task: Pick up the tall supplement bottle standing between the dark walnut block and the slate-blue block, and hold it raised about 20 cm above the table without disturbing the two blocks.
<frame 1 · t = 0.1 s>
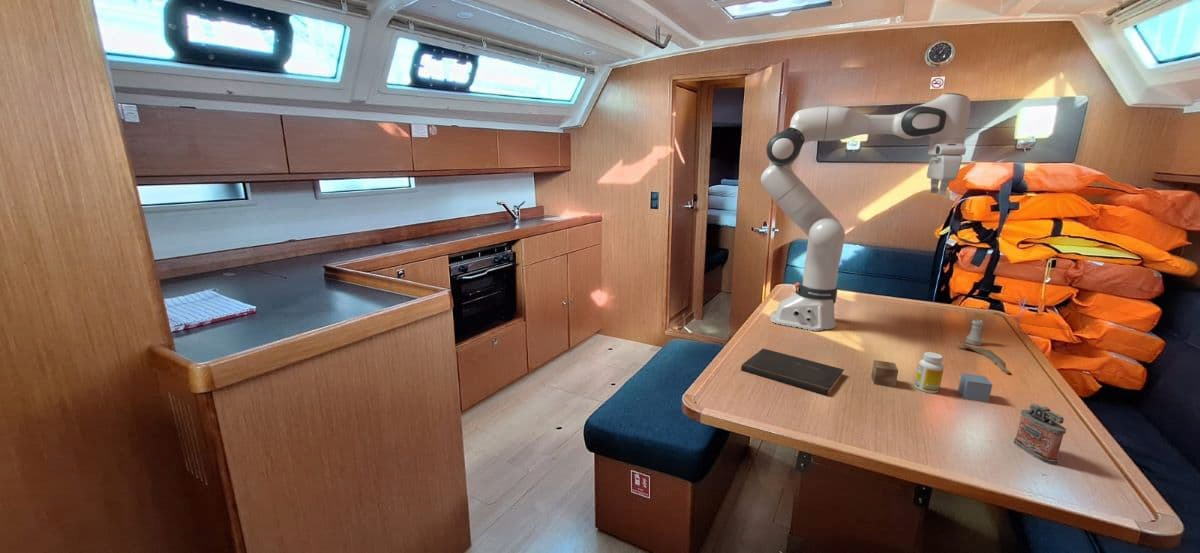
hand: (937, 194, 150), 48 cm above the table, tool pointing down, fingers open, 8 cm apart
walnut block: (882, 382, 128), on the table
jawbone: (980, 361, 143), on the table
supplement bottle: (926, 389, 124), on the table
slate-blue block: (972, 396, 120), on the table
rook chess piece: (973, 343, 155), on the table
lighter: (1034, 453, 97), on the table
hardcover book: (791, 375, 133), on the table
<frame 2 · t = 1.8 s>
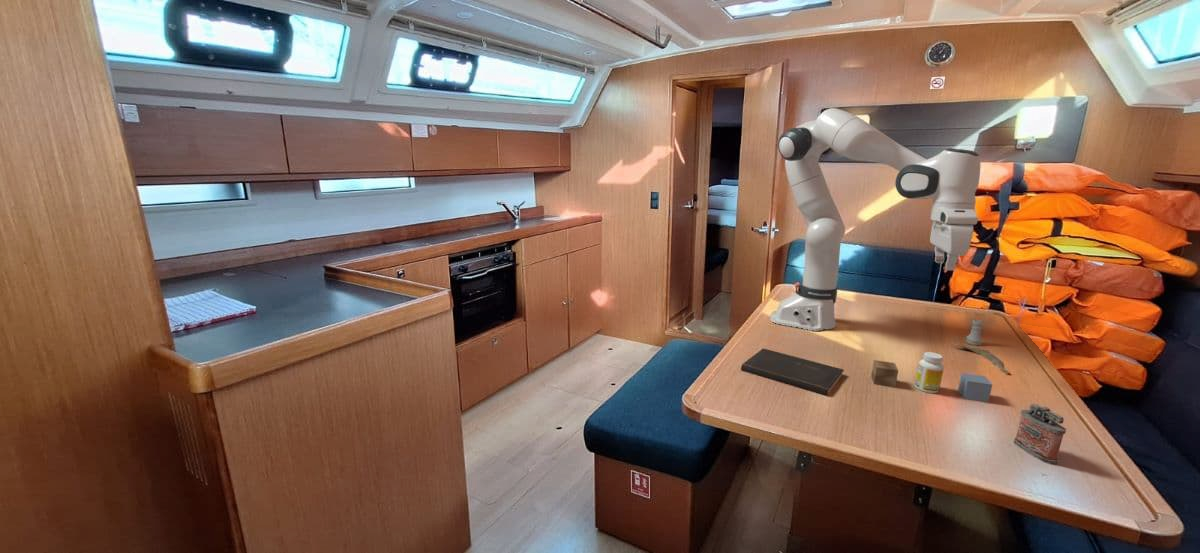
hand: (944, 266, 125), 31 cm above the table, tool pointing down, fingers open, 8 cm apart
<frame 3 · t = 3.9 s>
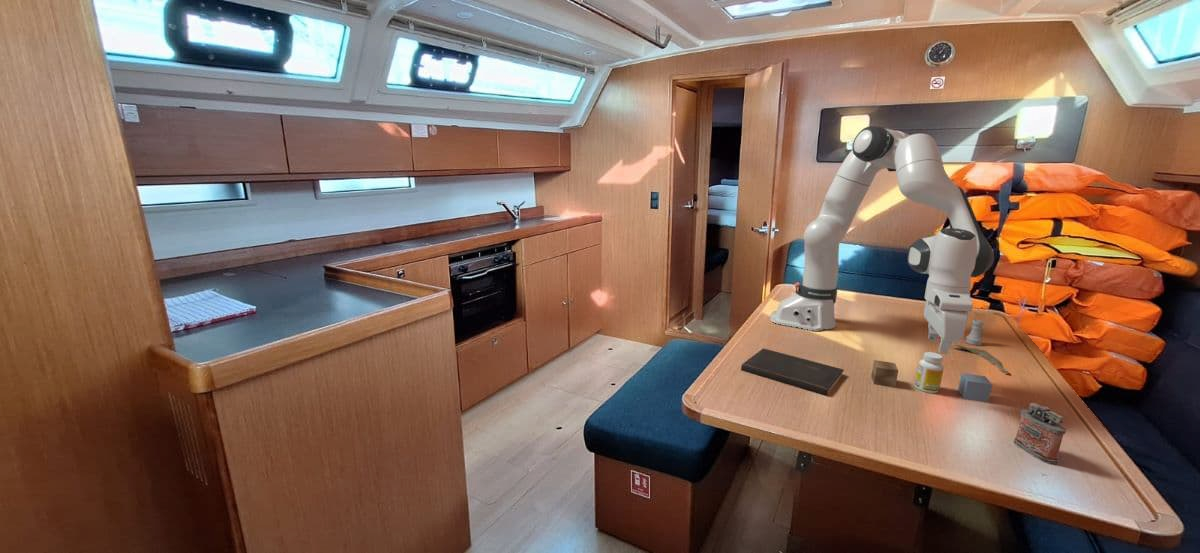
hand: (937, 346, 121), 12 cm above the table, tool pointing down, fingers open, 8 cm apart
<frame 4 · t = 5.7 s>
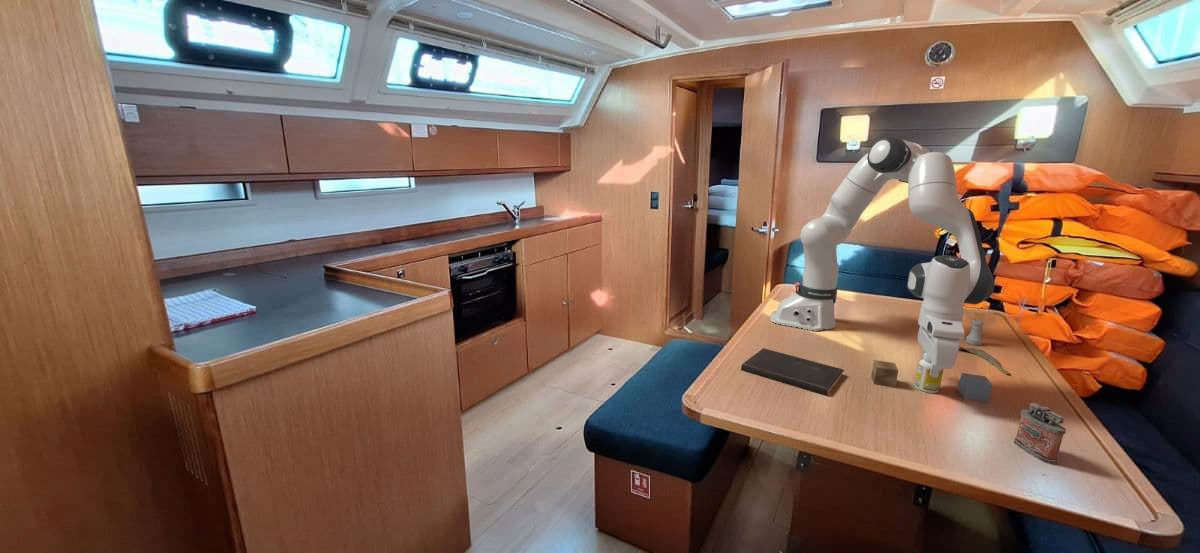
hand: (930, 370, 123), 5 cm above the table, tool pointing down, fingers closed on supplement bottle, 5 cm apart
supplement bottle: (926, 389, 124), on the table, touching gripper
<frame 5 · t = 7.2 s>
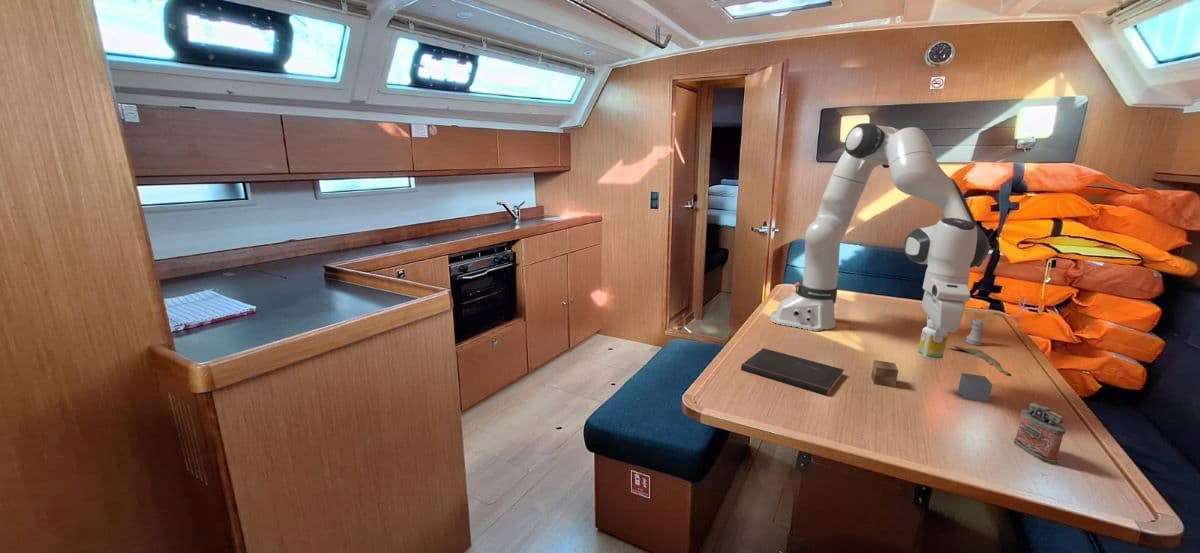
hand: (933, 336, 121), 14 cm above the table, tool pointing down, fingers closed on supplement bottle, 5 cm apart
supplement bottle: (929, 357, 122), point 9 cm above the table, touching gripper
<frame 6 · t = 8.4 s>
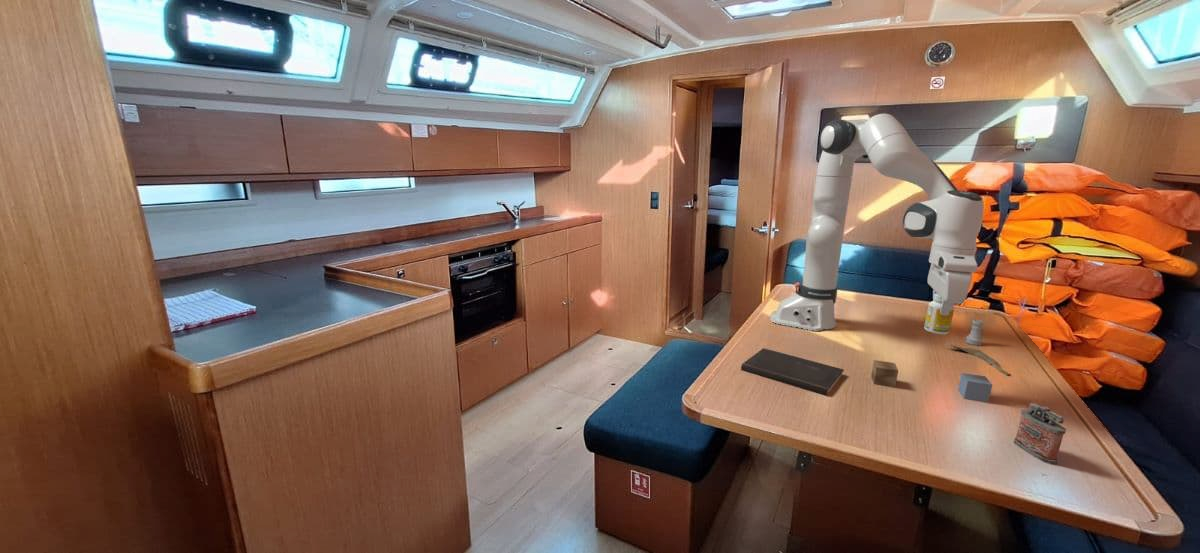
hand: (940, 310, 120), 21 cm above the table, tool pointing down, fingers closed on supplement bottle, 5 cm apart
supplement bottle: (936, 331, 122), point 15 cm above the table, touching gripper
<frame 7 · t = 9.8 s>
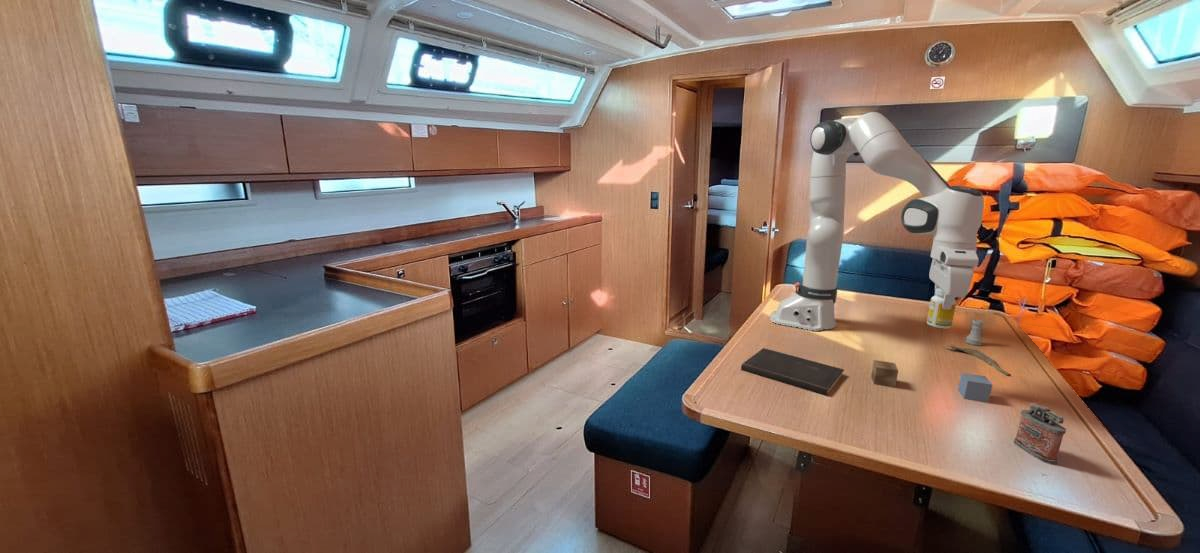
hand: (942, 304, 122), 22 cm above the table, tool pointing down, fingers closed on supplement bottle, 5 cm apart
supplement bottle: (938, 326, 123), point 16 cm above the table, touching gripper
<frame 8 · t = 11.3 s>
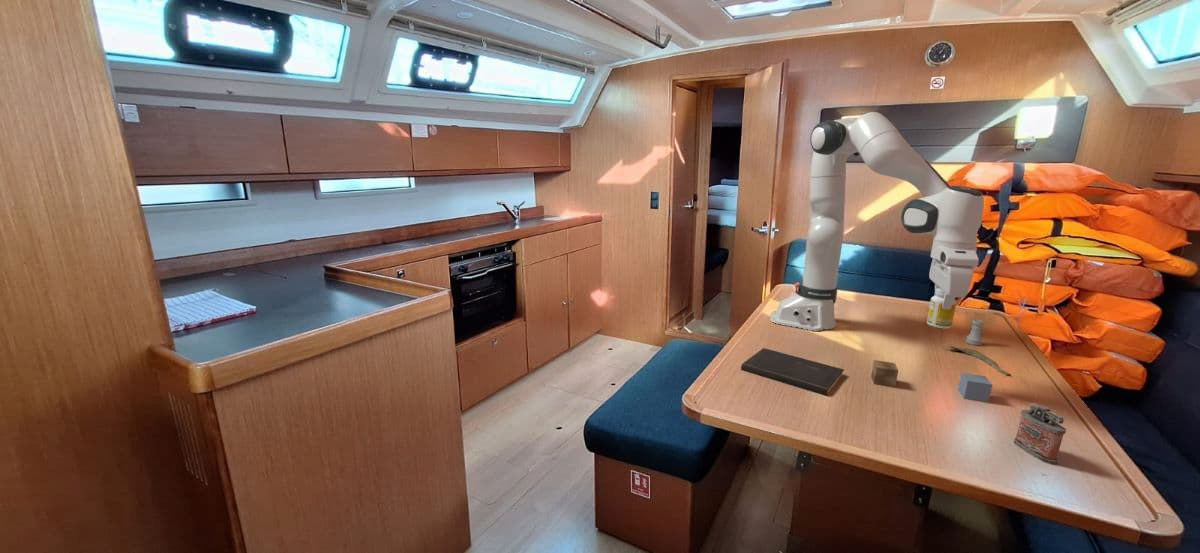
hand: (942, 304, 122), 22 cm above the table, tool pointing down, fingers closed on supplement bottle, 5 cm apart
supplement bottle: (938, 326, 123), point 16 cm above the table, touching gripper
at the end: supplement bottle point 16.3 cm above the table; walnut block moved 0.1 cm from its start; slate-blue block moved 0.1 cm from its start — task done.
